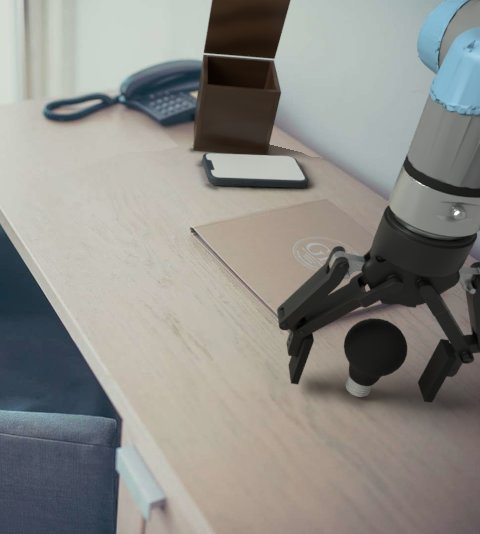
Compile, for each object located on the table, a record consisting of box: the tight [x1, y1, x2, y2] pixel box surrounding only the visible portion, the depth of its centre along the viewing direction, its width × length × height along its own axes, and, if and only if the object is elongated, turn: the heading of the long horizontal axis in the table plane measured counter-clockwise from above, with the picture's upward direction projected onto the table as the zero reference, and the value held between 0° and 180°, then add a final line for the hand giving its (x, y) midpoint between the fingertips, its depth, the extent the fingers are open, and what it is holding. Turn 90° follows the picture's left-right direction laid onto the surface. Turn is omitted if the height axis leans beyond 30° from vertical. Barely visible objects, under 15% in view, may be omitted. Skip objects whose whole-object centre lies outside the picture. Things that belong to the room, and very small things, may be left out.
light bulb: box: [343, 318, 408, 398], centre depth 66 cm, size 6×6×10 cm
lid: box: [203, 0, 291, 60], centre depth 112 cm, size 15×13×9 cm
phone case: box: [201, 152, 308, 189], centre depth 106 cm, size 9×2×16 cm
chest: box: [192, 54, 282, 155], centre depth 114 cm, size 15×13×12 cm
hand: (358, 383), depth 69 cm, fingers open, 13 cm apart
